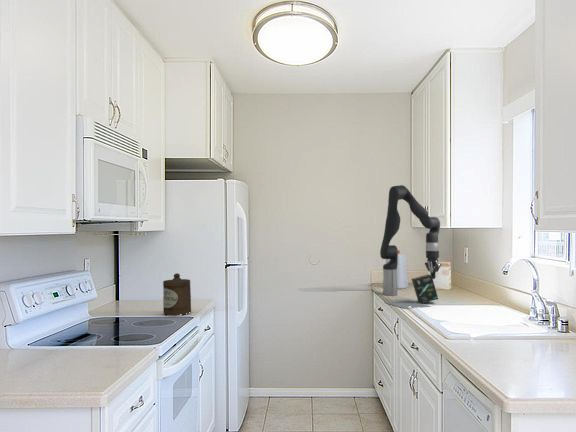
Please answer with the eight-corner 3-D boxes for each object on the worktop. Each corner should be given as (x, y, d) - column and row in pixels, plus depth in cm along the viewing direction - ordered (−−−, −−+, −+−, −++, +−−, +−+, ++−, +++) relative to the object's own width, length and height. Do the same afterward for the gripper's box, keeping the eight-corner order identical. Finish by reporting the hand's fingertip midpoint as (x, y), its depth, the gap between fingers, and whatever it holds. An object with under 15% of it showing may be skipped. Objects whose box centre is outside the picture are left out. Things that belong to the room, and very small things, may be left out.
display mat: (383, 302, 281) (383, 302, 281) (408, 300, 286) (408, 300, 286) (404, 308, 260) (404, 308, 260) (430, 306, 265) (430, 306, 265)
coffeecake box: (451, 288, 338) (451, 261, 338) (449, 289, 332) (448, 262, 332) (430, 287, 346) (430, 261, 346) (428, 288, 340) (427, 262, 340)
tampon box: (435, 297, 282) (428, 273, 283) (438, 299, 273) (431, 274, 274) (417, 301, 283) (411, 278, 284) (420, 303, 274) (413, 279, 275)
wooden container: (158, 313, 255) (158, 273, 255) (181, 310, 265) (181, 271, 266) (172, 317, 244) (172, 275, 245) (196, 313, 255) (196, 273, 255)
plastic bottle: (382, 288, 345) (382, 250, 345) (390, 286, 357) (390, 249, 358) (402, 289, 336) (401, 251, 337) (409, 287, 348) (409, 250, 349)
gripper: (420, 249, 285) (421, 278, 284) (434, 250, 272) (434, 280, 272) (430, 249, 287) (431, 277, 287) (444, 250, 275) (445, 279, 274)
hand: (433, 278), depth 279 cm, fingers closed
